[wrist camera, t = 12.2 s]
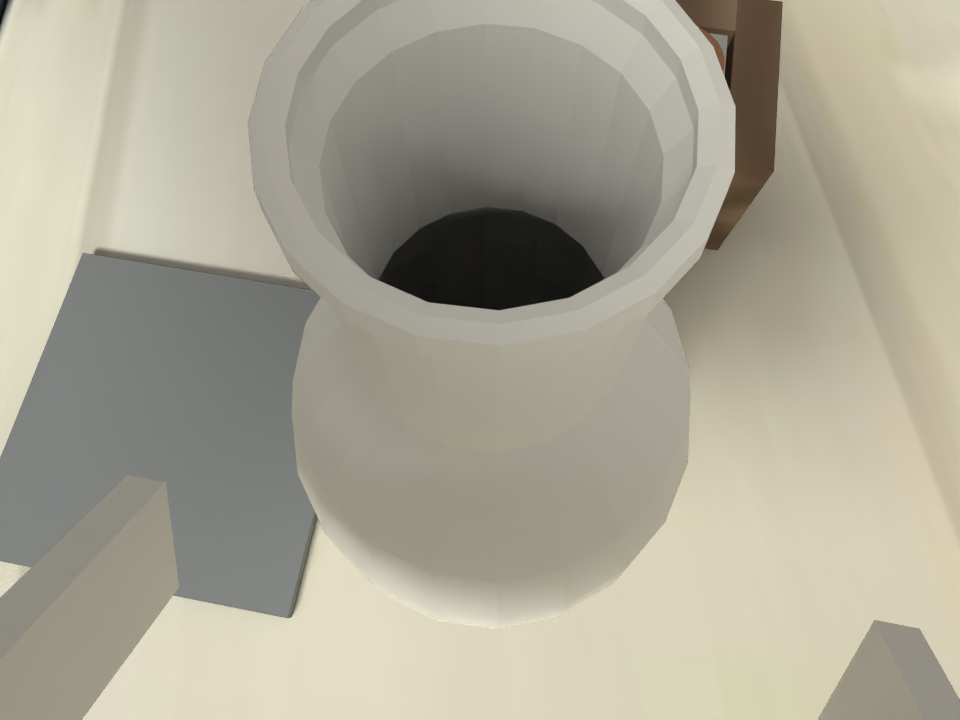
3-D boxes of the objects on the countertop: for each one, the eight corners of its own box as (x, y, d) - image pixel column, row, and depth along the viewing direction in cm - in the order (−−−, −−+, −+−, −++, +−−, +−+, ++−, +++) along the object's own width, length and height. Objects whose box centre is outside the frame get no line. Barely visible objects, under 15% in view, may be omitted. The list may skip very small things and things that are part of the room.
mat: (-28, 553, 29) (-39, 553, 29) (89, 257, 34) (82, 252, 33) (291, 617, 28) (287, 618, 28) (369, 303, 33) (367, 299, 32)
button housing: (544, 223, 34) (557, 140, 27) (567, 84, 37) (585, -23, 30) (717, 249, 33) (773, 171, 27) (728, 106, 36) (782, 1, 29)
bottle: (655, 445, 30) (1298, -25, 6) (525, 659, 28) (769, 1302, 4) (460, 321, 32) (373, -398, 8) (321, 509, 30) (-414, 262, 6)
